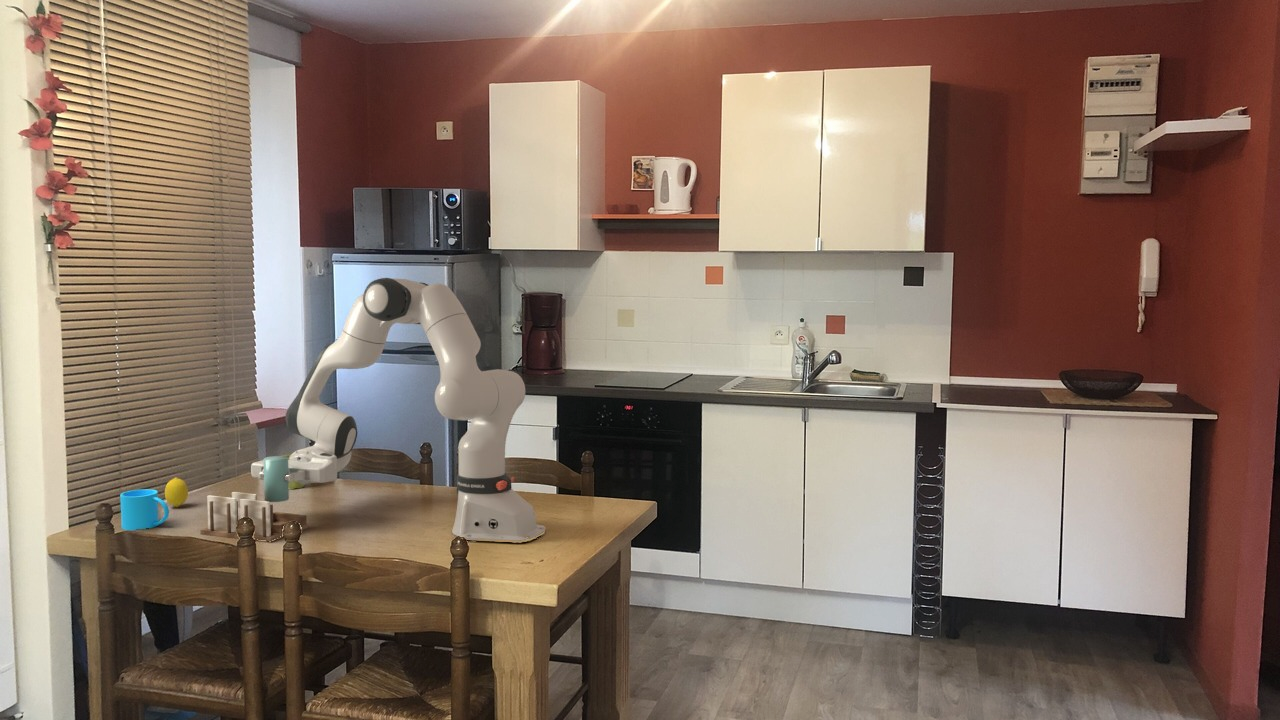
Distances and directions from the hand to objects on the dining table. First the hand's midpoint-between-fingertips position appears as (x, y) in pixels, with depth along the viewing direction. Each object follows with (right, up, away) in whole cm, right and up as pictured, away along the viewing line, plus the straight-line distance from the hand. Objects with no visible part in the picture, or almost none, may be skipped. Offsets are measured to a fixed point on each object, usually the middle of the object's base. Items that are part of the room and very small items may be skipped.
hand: (274, 477), depth 241 cm
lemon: (-34, -11, +23) cm, 42 cm away
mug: (-33, -13, +5) cm, 35 cm away
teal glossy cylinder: (0, -5, +1) cm, 6 cm away
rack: (-5, -13, +2) cm, 14 cm away
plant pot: (-12, -9, +47) cm, 49 cm away
